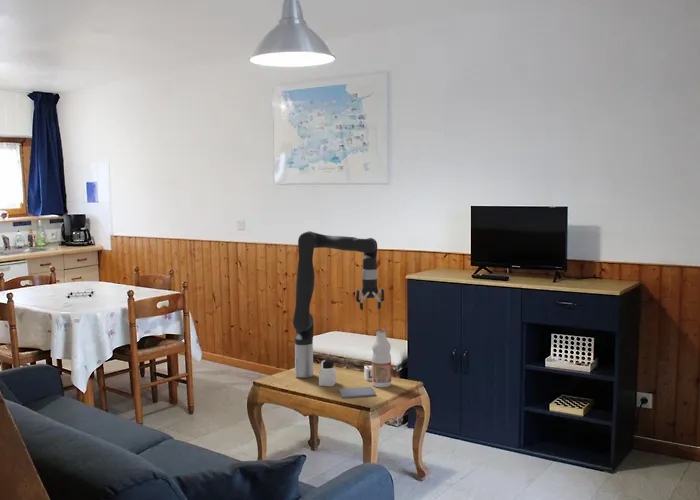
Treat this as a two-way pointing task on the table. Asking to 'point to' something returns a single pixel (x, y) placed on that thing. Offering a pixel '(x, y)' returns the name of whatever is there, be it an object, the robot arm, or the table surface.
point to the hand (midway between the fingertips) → (370, 309)
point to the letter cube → (368, 372)
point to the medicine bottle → (327, 373)
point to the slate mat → (357, 392)
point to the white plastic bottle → (381, 360)
